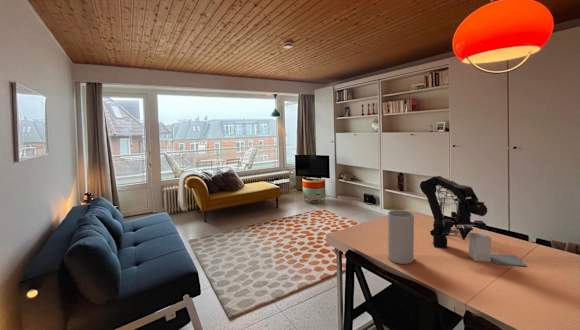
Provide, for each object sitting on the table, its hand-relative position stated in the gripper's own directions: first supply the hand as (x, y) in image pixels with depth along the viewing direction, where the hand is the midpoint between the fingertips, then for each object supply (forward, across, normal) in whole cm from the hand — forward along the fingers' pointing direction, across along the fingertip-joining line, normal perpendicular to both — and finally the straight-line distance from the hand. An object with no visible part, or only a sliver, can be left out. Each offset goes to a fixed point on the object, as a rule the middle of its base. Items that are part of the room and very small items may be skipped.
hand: (463, 239), depth 143 cm
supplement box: (+10, -8, 0) cm, 12 cm away
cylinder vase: (+10, +31, +9) cm, 34 cm away
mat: (+10, -19, 0) cm, 21 cm away
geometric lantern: (+10, -1, -34) cm, 35 cm away
